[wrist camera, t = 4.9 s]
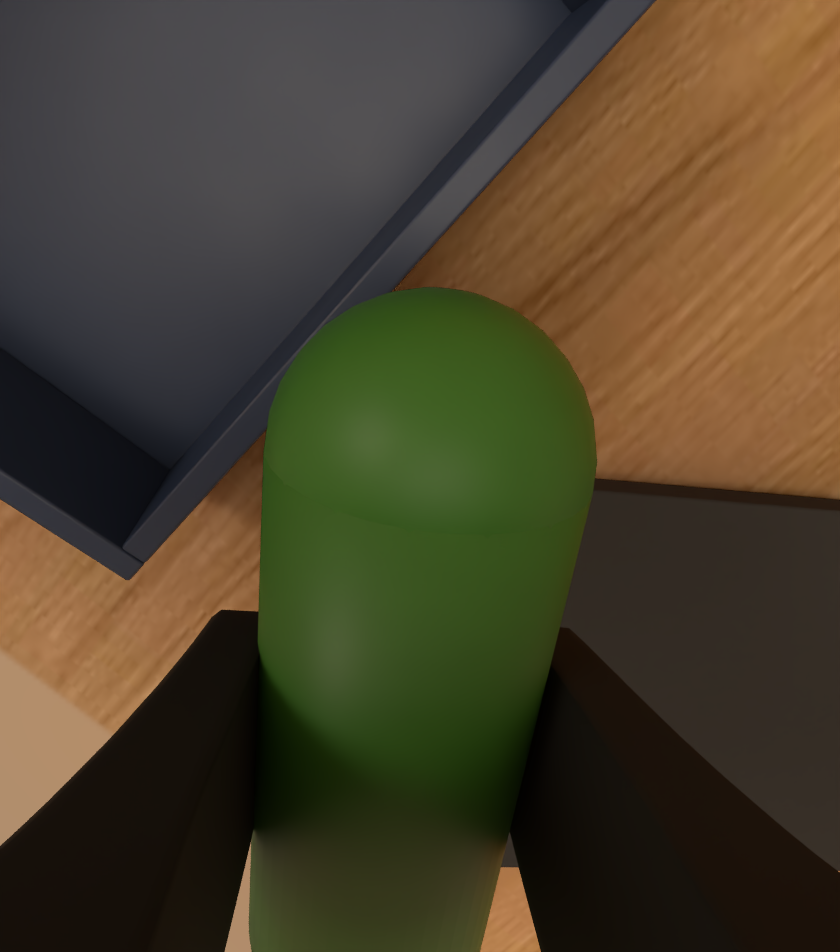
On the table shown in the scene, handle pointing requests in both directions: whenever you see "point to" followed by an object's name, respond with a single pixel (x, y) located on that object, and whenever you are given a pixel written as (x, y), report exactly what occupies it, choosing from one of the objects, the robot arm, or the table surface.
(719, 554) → the mat
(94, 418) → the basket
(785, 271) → the table surface
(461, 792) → the cucumber
